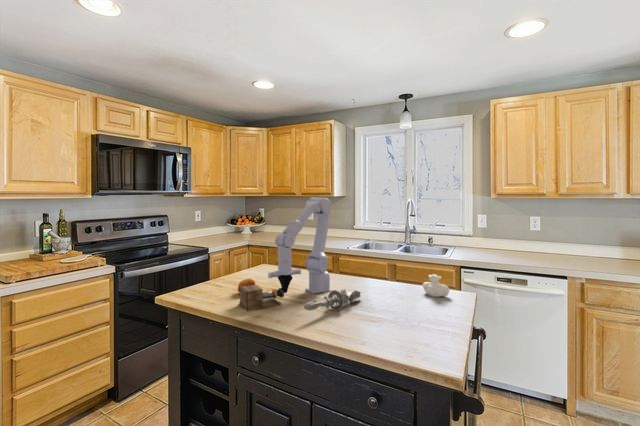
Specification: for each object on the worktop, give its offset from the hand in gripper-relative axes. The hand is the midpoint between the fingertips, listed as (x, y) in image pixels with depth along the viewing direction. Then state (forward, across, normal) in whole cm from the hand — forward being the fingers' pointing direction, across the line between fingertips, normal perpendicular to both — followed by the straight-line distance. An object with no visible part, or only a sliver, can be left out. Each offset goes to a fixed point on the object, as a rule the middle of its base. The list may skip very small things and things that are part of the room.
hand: (284, 292), depth 141 cm
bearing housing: (+3, -11, 0) cm, 12 cm away
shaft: (+2, -7, 0) cm, 8 cm away
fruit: (+4, -11, +17) cm, 21 cm away
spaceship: (+4, +13, -20) cm, 24 cm away
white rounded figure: (+4, +62, -28) cm, 68 cm away
